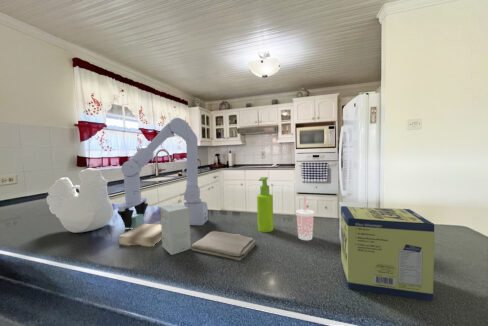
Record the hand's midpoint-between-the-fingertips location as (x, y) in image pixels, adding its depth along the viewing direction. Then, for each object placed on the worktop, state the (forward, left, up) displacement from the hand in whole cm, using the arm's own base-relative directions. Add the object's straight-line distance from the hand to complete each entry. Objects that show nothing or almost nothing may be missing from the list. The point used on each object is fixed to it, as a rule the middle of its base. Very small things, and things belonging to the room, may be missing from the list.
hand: (134, 223), depth 87 cm
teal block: (0, 0, -2) cm, 2 cm away
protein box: (-81, +27, -2) cm, 85 cm away
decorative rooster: (+21, +3, -2) cm, 21 cm away
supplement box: (-81, +8, -2) cm, 81 cm away
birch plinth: (-12, +10, -1) cm, 16 cm away
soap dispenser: (-53, -2, -2) cm, 53 cm away
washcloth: (-41, +14, -2) cm, 43 cm away
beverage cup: (-67, +4, -2) cm, 67 cm away
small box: (-26, +16, -2) cm, 31 cm away
